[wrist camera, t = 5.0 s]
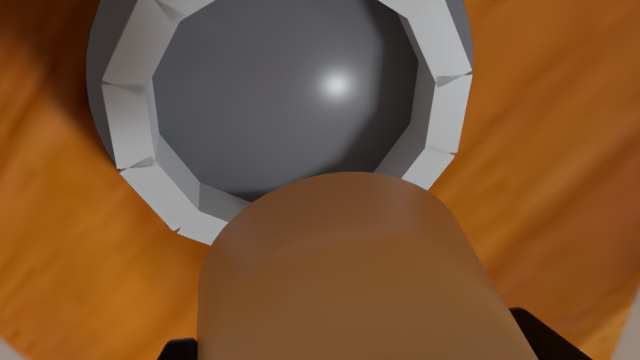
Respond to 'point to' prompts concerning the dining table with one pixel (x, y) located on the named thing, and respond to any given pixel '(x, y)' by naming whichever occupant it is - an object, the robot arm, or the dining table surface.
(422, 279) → the beige tiered cylinder
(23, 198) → the dining table surface
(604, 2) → the dining table surface
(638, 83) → the dining table surface
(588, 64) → the dining table surface
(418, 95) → the grey shallow dish
